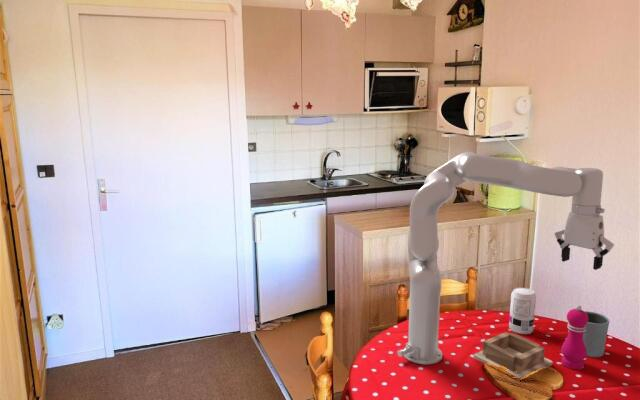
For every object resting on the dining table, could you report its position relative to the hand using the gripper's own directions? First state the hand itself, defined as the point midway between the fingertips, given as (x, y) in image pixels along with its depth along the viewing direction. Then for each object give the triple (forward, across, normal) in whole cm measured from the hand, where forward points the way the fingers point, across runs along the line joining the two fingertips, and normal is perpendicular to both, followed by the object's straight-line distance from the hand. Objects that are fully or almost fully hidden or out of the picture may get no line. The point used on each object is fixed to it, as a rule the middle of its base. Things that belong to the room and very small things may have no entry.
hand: (580, 264), depth 151 cm
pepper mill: (+33, 0, 0) cm, 33 cm away
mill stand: (+33, +12, +14) cm, 38 cm away
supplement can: (+33, +24, -8) cm, 42 cm away
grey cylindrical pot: (+33, +2, -13) cm, 36 cm away
